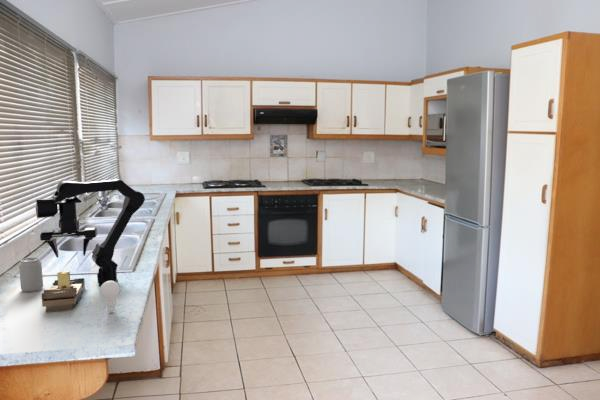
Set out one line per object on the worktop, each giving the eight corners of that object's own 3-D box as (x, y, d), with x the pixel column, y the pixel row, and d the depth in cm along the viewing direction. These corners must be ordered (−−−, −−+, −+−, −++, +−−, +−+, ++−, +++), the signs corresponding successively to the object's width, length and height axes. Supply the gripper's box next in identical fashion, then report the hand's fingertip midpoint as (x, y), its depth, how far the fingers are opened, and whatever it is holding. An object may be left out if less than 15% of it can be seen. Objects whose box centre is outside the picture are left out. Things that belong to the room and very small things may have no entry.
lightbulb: (98, 312, 166) (96, 280, 164) (116, 307, 170) (114, 276, 168) (106, 317, 162) (104, 285, 160) (124, 312, 166) (122, 281, 164)
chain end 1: (82, 293, 184) (81, 277, 183) (75, 309, 168) (74, 291, 167) (52, 296, 181) (51, 279, 180) (42, 312, 166) (41, 294, 165)
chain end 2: (85, 288, 190) (84, 277, 189) (78, 303, 174) (77, 291, 174) (56, 290, 187) (55, 279, 186) (46, 306, 172) (45, 293, 171)
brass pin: (72, 297, 180) (70, 270, 178) (70, 301, 176) (68, 274, 175) (60, 298, 179) (58, 271, 177) (58, 302, 175) (56, 275, 174)
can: (47, 286, 192) (44, 256, 190) (37, 293, 185) (35, 261, 183) (27, 286, 192) (24, 256, 190) (17, 293, 184) (14, 261, 183)
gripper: (97, 210, 194) (100, 249, 196) (45, 212, 189) (48, 252, 192) (94, 215, 183) (96, 256, 186) (38, 218, 178) (41, 260, 181)
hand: (71, 256), depth 186 cm, fingers open, 9 cm apart
